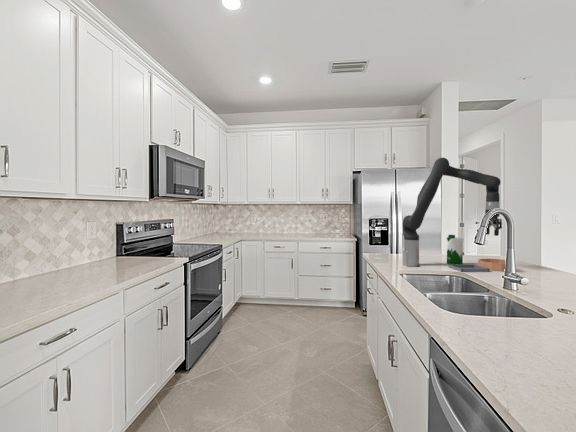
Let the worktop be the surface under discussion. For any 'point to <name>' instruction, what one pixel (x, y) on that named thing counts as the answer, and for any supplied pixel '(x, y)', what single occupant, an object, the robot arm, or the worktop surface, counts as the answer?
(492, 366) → the worktop surface
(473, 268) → the tray
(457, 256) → the milk carton
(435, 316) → the worktop surface
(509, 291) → the worktop surface
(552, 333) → the worktop surface
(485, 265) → the bowl
